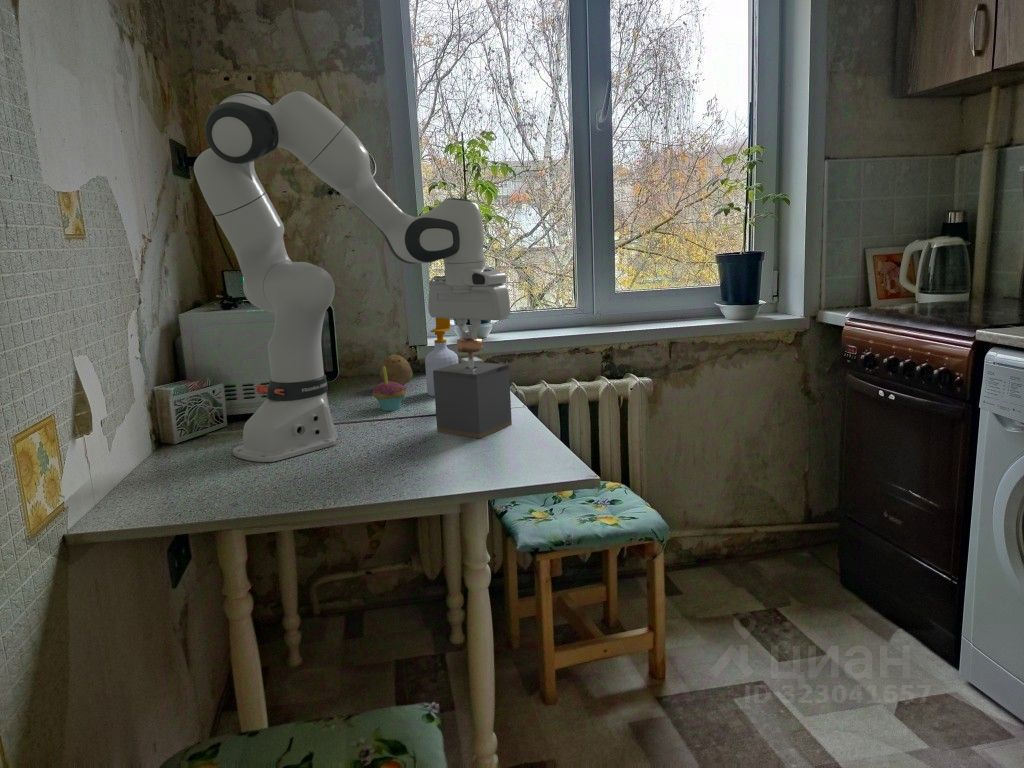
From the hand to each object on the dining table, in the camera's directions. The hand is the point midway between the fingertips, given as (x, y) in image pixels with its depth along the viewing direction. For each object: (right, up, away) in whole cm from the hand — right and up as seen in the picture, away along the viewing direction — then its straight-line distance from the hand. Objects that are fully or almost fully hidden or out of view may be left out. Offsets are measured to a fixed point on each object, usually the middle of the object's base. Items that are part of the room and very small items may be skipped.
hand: (469, 339), depth 155 cm
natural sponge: (-24, -11, +49) cm, 55 cm away
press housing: (+1, -20, +4) cm, 20 cm away
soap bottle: (-10, -13, +40) cm, 43 cm away
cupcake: (-22, -16, +26) cm, 38 cm away
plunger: (+1, -15, +3) cm, 15 cm away
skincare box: (0, -15, +25) cm, 30 cm away
